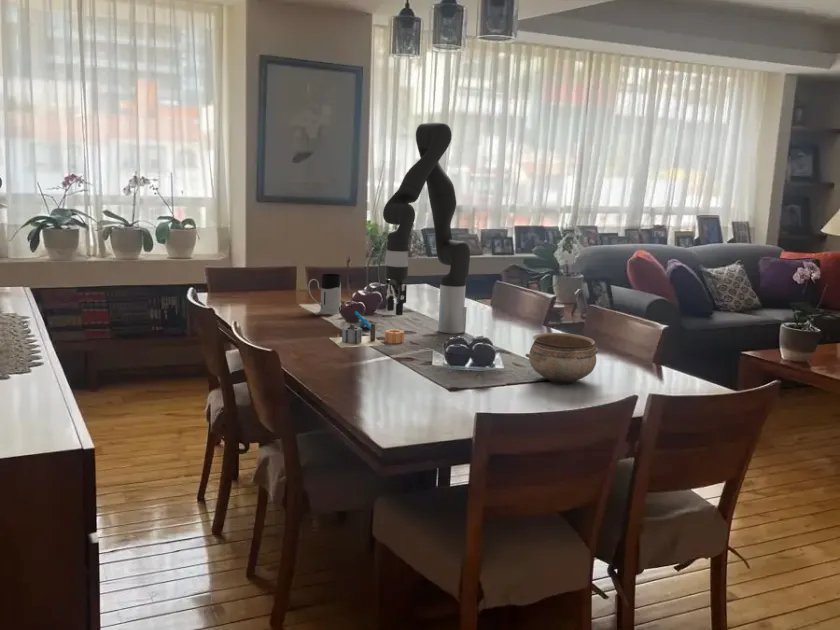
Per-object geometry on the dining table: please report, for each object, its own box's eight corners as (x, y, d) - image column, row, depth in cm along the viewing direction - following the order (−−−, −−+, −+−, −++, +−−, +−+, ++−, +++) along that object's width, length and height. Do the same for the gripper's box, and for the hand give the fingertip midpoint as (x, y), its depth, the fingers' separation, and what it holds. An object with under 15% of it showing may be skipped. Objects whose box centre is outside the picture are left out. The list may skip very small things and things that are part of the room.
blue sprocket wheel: (376, 330, 267) (357, 310, 266) (364, 342, 267) (344, 322, 266) (376, 328, 278) (357, 308, 277) (364, 339, 278) (345, 320, 277)
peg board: (371, 339, 261) (372, 318, 260) (385, 348, 249) (385, 327, 247) (329, 341, 256) (329, 320, 254) (340, 351, 243) (341, 329, 242)
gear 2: (399, 341, 259) (400, 328, 258) (406, 346, 253) (407, 332, 253) (382, 342, 257) (382, 329, 256) (388, 347, 251) (388, 333, 250)
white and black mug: (345, 313, 305) (346, 276, 302) (313, 315, 297) (313, 277, 294) (334, 309, 312) (335, 273, 309) (303, 311, 304) (303, 274, 301)
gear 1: (353, 338, 256) (353, 325, 255) (365, 342, 251) (365, 328, 251) (338, 341, 251) (338, 327, 251) (350, 344, 247) (350, 331, 246)
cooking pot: (544, 394, 205) (548, 350, 203) (505, 376, 221) (508, 335, 219) (616, 385, 216) (620, 343, 214) (574, 369, 233) (577, 330, 230)
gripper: (415, 267, 245) (412, 316, 248) (399, 261, 258) (397, 308, 261) (393, 267, 242) (391, 317, 245) (378, 261, 255) (376, 309, 258)
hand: (394, 312), depth 253 cm, fingers open, 8 cm apart
